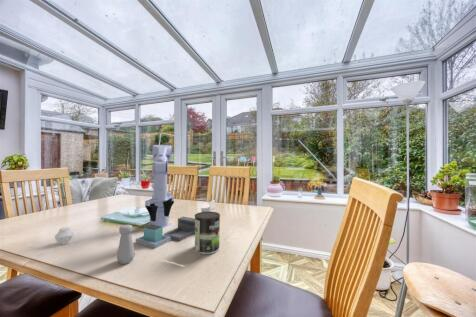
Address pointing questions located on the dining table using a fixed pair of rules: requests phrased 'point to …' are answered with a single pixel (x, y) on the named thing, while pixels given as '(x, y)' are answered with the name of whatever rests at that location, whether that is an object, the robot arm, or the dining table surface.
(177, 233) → the bay
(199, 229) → the coffee can
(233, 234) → the dining table surface
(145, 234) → the teal block grey face
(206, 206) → the ink cartridge box
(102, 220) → the dining table surface
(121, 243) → the salt shaker
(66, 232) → the muffin
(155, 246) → the tray
